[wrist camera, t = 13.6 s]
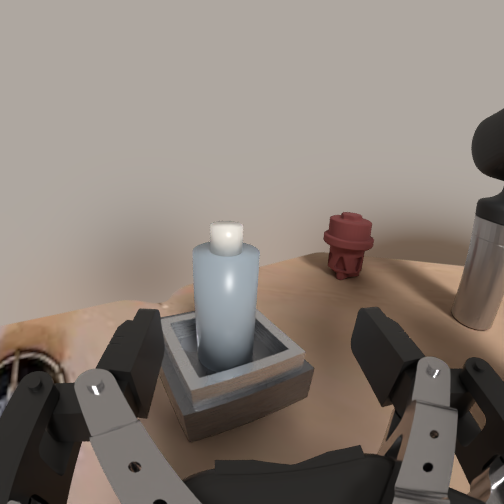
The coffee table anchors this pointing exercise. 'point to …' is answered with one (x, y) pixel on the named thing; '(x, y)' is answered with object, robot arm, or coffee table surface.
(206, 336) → the pale blue squeeze bottle
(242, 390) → the square grey open box
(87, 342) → the coffee table surface
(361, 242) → the mechanical component
